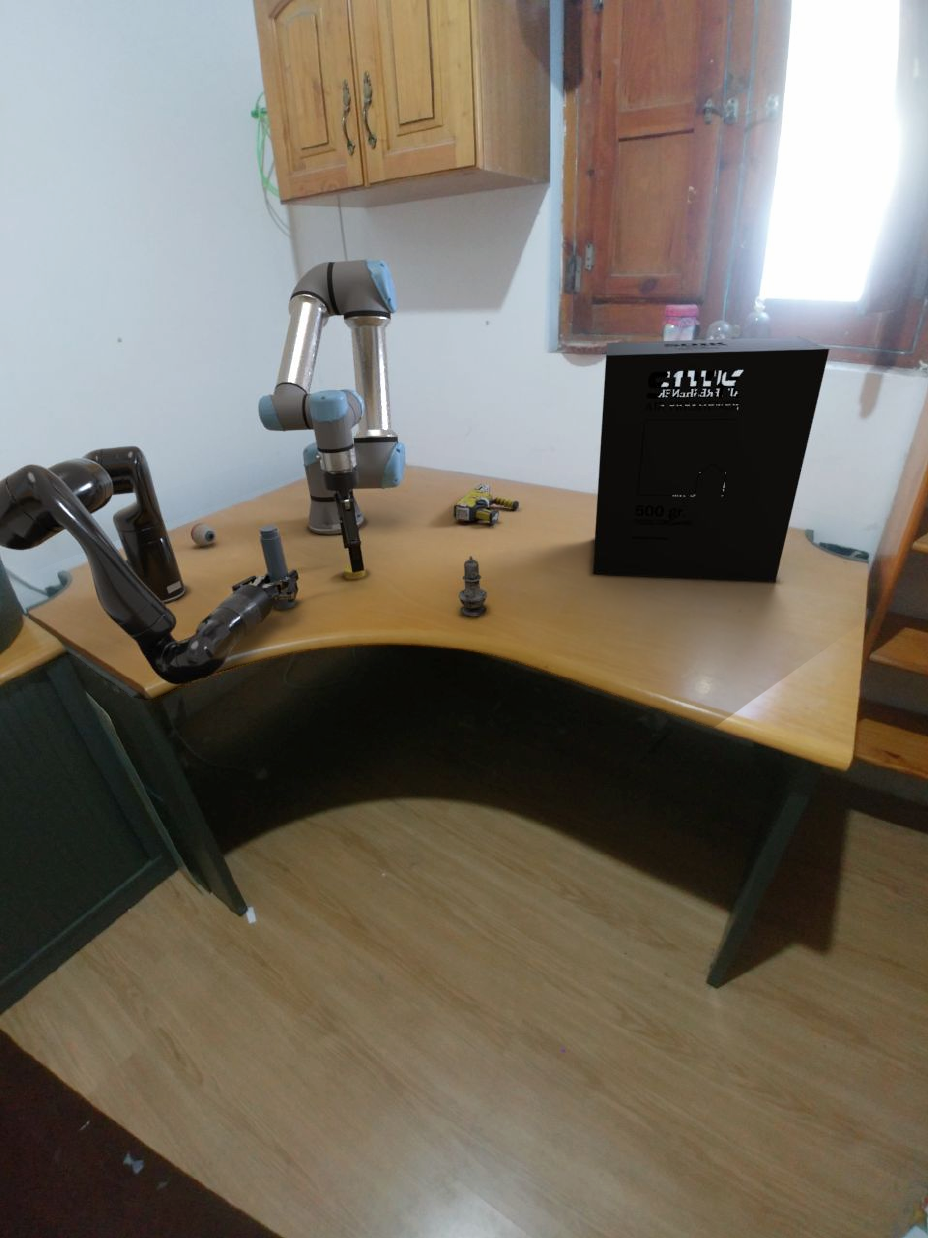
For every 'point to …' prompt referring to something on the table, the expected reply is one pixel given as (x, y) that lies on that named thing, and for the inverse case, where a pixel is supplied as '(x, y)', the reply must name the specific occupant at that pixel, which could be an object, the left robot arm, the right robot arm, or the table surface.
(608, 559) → the cardboard box
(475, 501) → the toy gun
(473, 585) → the grey chess piece
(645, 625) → the table surface
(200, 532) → the eyeball
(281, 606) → the bottle
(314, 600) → the table surface
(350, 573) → the lid
